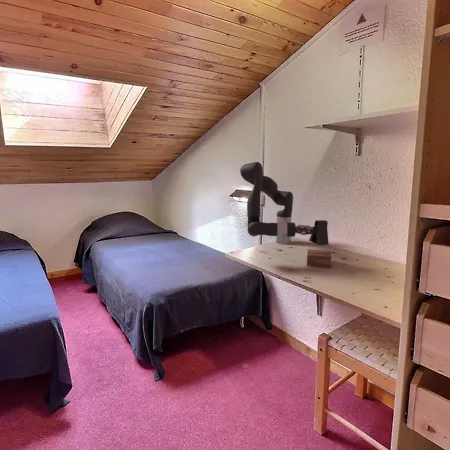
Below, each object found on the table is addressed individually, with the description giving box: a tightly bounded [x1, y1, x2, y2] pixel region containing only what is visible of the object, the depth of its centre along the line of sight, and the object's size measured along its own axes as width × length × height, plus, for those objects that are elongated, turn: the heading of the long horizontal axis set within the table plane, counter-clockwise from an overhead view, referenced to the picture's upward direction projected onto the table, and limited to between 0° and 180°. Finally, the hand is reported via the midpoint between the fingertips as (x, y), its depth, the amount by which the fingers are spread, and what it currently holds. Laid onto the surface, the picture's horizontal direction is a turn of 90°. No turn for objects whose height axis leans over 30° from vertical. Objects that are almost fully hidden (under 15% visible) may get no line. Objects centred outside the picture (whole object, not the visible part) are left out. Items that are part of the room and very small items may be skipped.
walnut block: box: [306, 248, 332, 269], centre depth 189 cm, size 12×12×6 cm
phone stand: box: [308, 219, 330, 246], centre depth 186 cm, size 9×6×12 cm, turn 20°
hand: (318, 229), depth 185 cm, fingers closed on phone stand, 2 cm apart
